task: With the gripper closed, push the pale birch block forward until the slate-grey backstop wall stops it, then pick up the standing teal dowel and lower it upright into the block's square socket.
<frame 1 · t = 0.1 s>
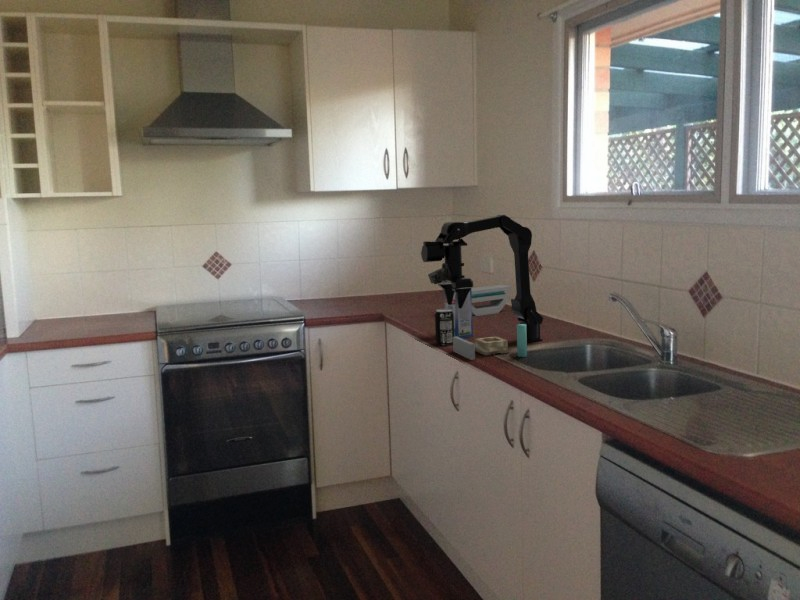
hand: (454, 306, 242), 15 cm above the table, fingers open, 9 cm apart
beverage can: (445, 344, 254), on the table
milk carton: (459, 336, 268), on the table
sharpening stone: (482, 313, 314), on the table
sliding block: (491, 345, 237), point 2 cm above the table, slide at 0.0 cm
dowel: (522, 355, 230), on the table
backstop wall: (464, 355, 235), on the table
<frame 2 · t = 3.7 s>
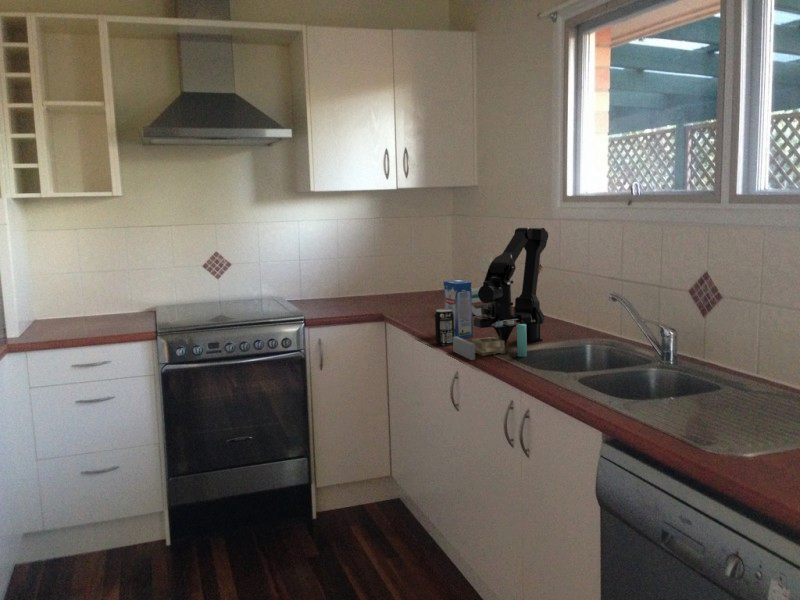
hand: (503, 345, 239), 2 cm above the table, fingers closed
sliding block: (487, 346, 237), point 2 cm above the table, slide at 1.1 cm, touching gripper
everything else where it was.
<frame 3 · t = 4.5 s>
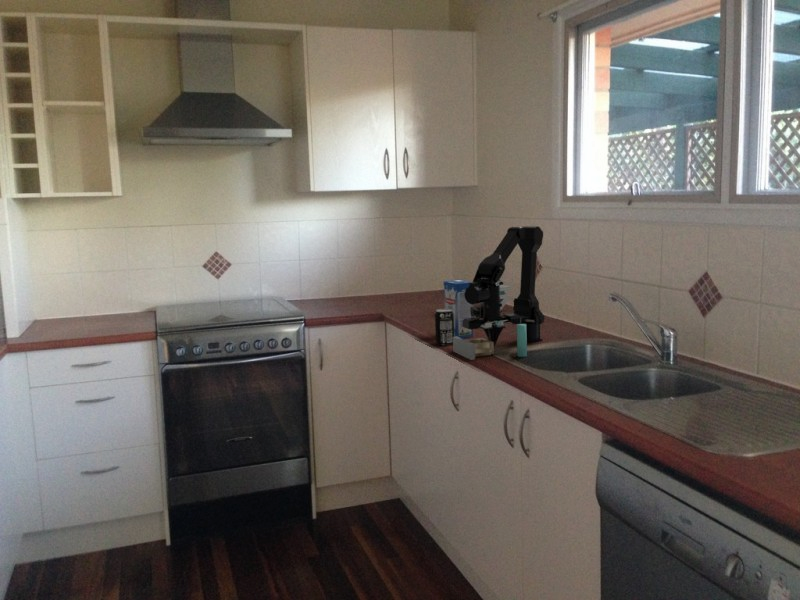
hand: (492, 347, 238), 2 cm above the table, fingers closed
sliding block: (477, 347, 236), point 2 cm above the table, slide at 5.0 cm, touching backstop wall, gripper
everything else where it was.
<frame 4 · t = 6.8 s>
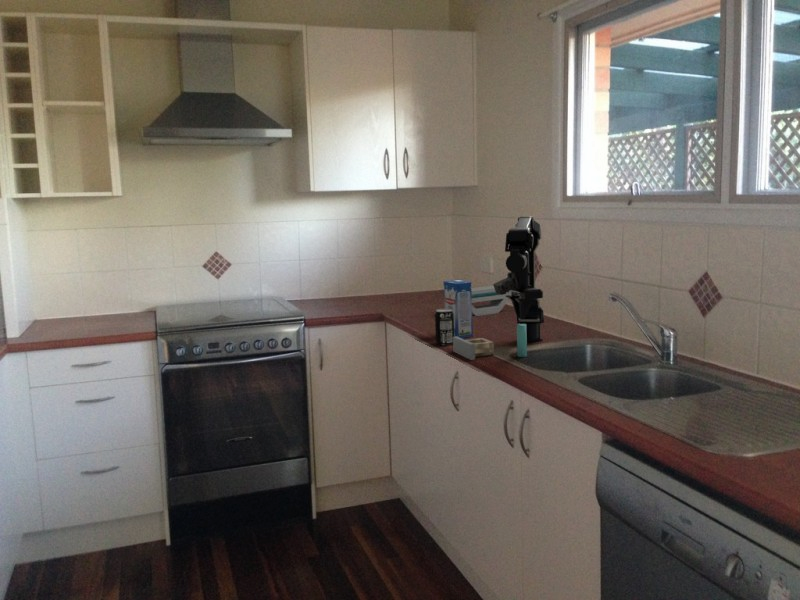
hand: (520, 318, 229), 12 cm above the table, fingers closed
sliding block: (477, 347, 236), point 2 cm above the table, slide at 5.0 cm, touching backstop wall
everything else where it was.
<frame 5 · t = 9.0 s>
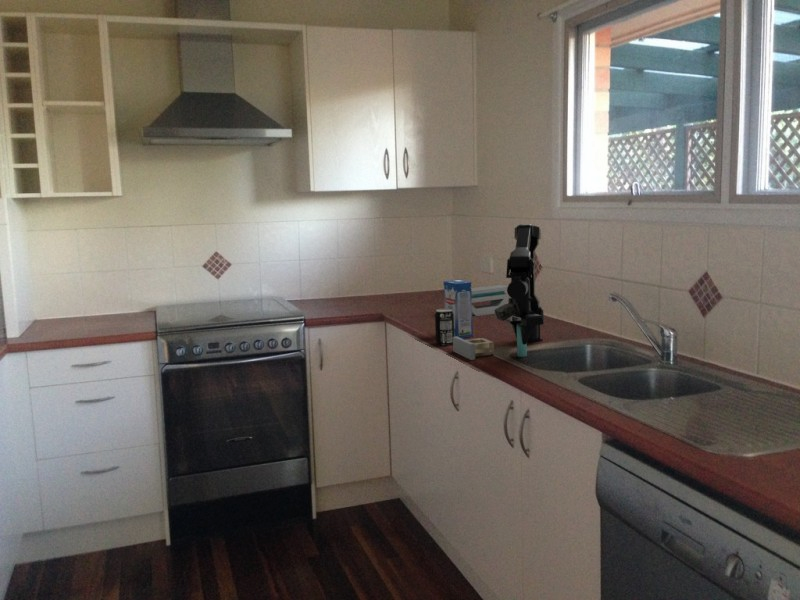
hand: (521, 343, 230), 4 cm above the table, fingers closed on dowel, 3 cm apart
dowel: (522, 355, 230), on the table, touching gripper
everything else where it was.
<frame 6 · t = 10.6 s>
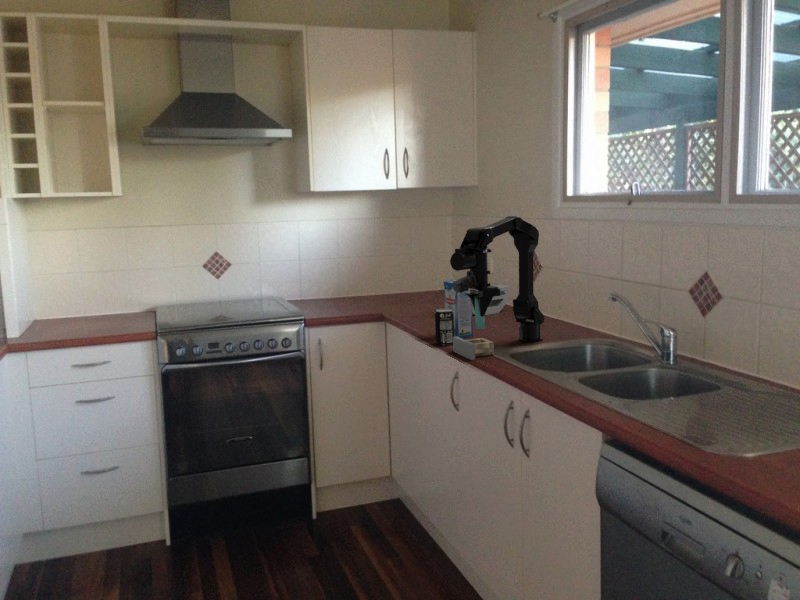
hand: (479, 315, 234), 13 cm above the table, fingers closed on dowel, 3 cm apart
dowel: (480, 328, 234), point 9 cm above the table, touching gripper
everything else where it was.
when the fingers open (6 cm above the table, at t = 12.5 s): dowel stays where it is, resting on sliding block.
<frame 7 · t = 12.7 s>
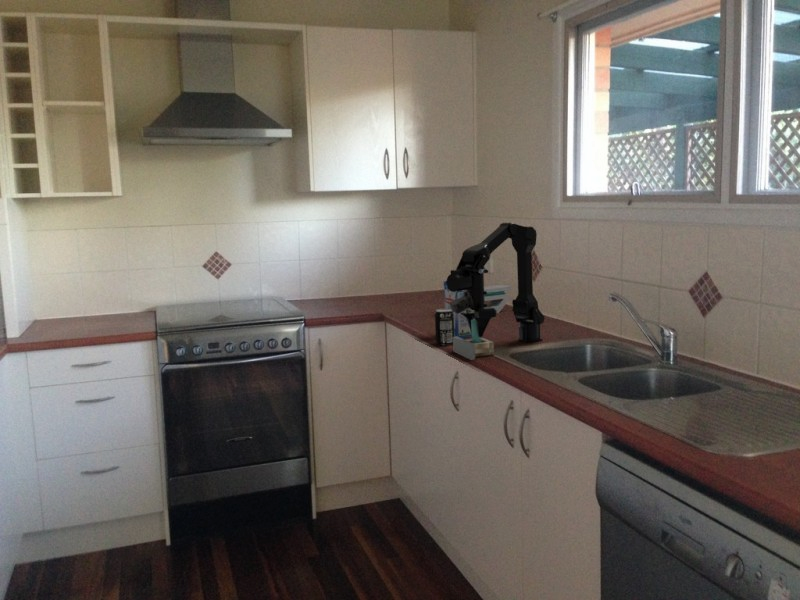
hand: (476, 335, 235), 6 cm above the table, fingers open, 5 cm apart
sliding block: (477, 347, 236), point 2 cm above the table, slide at 5.0 cm, touching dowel
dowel: (477, 350, 236), point 1 cm above the table, touching sliding block
everything else where it was.
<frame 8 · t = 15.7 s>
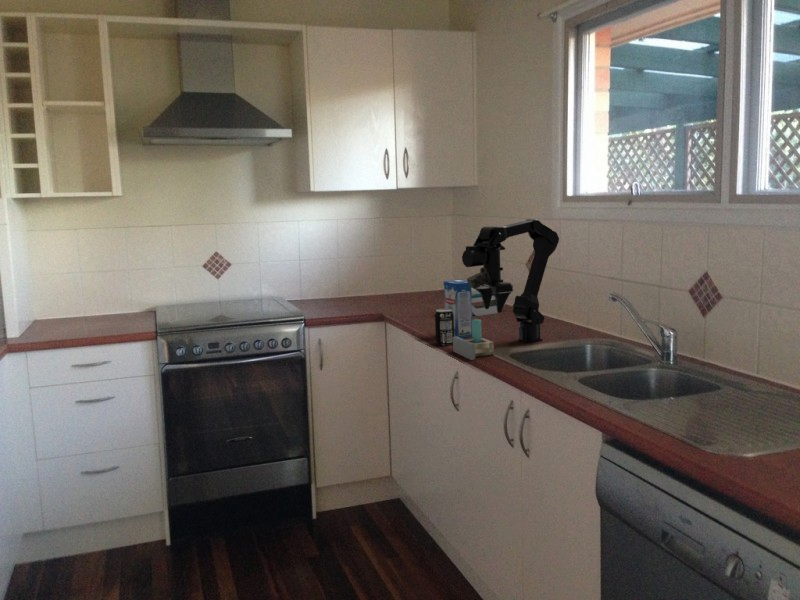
hand: (493, 310, 243), 13 cm above the table, fingers open, 9 cm apart
nothing on the table moved.
at the end: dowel 0.0 cm off-centre on the sliding block, point 1.1 cm above the sliding block's base; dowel tilted 0°; sliding block slide at 5.0 cm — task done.
